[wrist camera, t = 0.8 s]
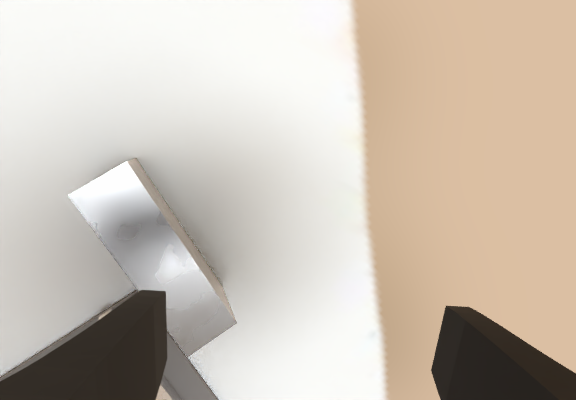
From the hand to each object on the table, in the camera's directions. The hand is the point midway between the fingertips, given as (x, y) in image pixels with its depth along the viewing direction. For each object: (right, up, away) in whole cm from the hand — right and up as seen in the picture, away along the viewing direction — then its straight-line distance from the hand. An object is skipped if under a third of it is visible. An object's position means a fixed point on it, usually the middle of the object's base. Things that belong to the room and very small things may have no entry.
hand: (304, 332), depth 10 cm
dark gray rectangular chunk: (-9, +1, +15) cm, 18 cm away
